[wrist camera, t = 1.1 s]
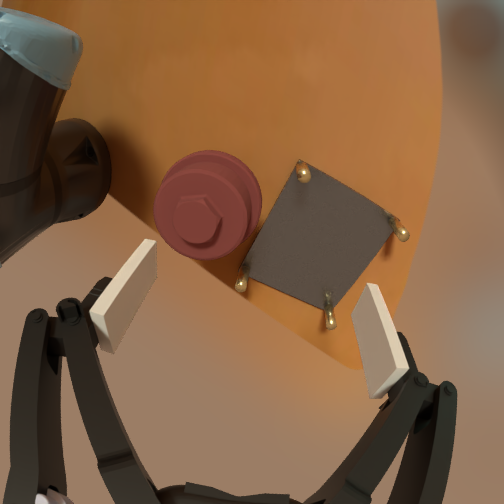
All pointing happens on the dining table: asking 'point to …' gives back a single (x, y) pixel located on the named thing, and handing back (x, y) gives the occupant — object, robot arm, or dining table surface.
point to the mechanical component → (207, 205)
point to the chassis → (317, 240)
